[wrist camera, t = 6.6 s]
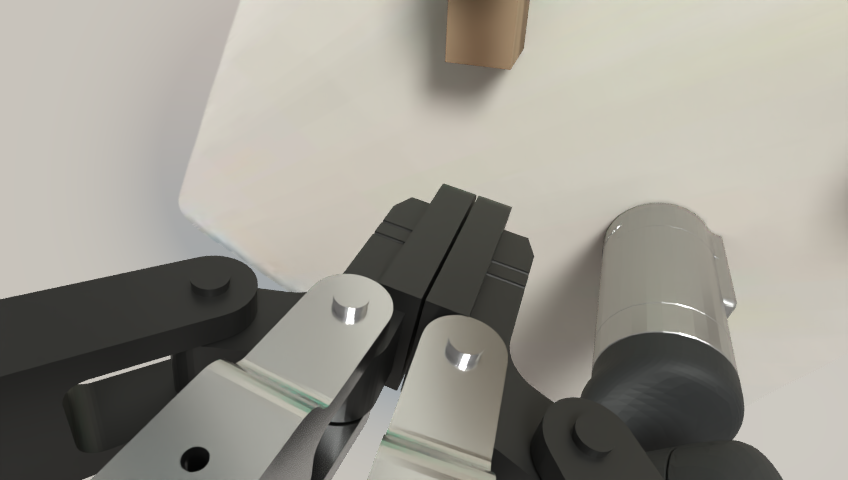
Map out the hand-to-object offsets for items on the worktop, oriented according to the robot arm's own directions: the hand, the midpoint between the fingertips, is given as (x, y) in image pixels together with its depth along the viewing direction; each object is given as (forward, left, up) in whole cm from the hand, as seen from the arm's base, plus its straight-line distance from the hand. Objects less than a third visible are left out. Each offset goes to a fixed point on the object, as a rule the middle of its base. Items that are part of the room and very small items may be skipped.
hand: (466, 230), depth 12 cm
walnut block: (+6, +5, -37) cm, 38 cm away
